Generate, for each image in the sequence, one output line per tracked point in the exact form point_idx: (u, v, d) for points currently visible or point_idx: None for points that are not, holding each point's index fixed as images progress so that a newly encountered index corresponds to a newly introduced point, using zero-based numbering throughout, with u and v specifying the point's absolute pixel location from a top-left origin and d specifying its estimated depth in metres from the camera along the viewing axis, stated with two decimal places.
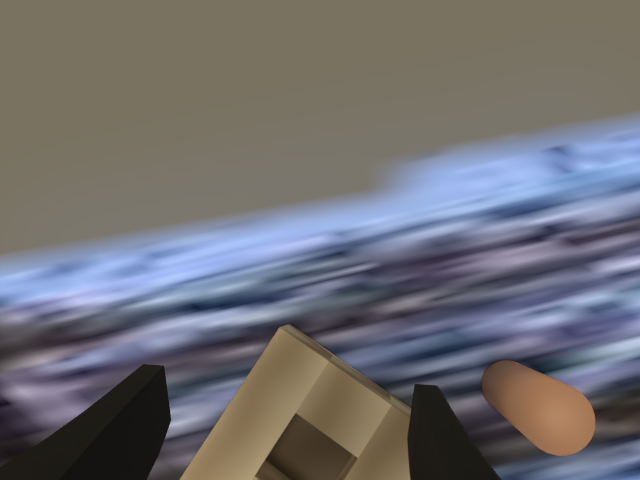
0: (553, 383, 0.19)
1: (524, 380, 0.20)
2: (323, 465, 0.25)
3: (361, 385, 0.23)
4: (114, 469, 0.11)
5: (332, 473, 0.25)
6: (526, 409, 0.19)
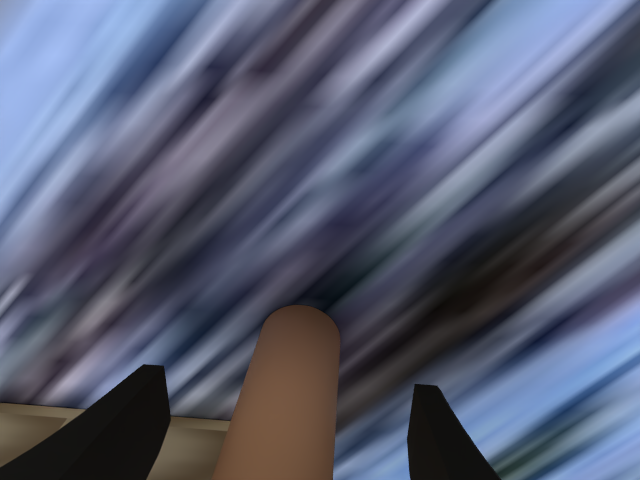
0: None
1: (224, 443, 0.11)
2: None
3: None
4: (114, 469, 0.11)
5: None
6: None
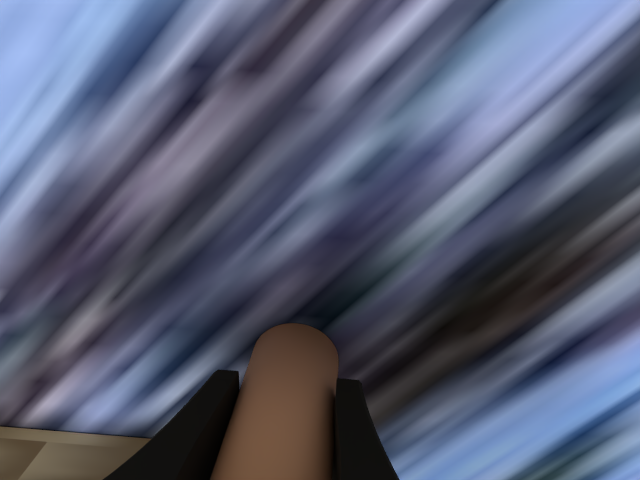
0: None
1: None
2: None
3: None
4: (204, 477, 0.11)
5: None
6: None
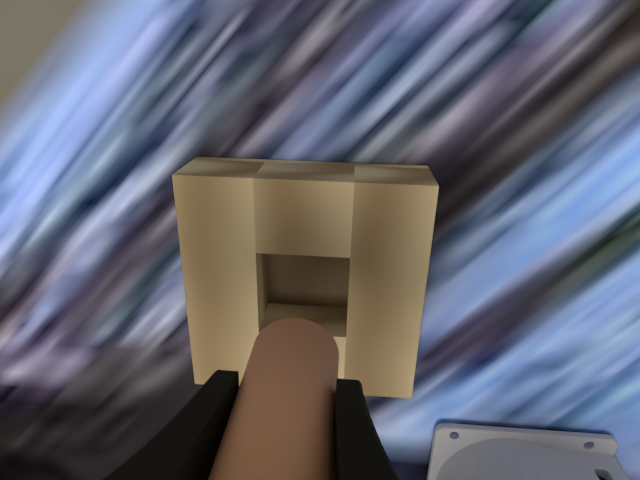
0: None
1: (210, 477, 0.10)
2: (328, 275, 0.21)
3: (306, 181, 0.17)
4: (204, 477, 0.11)
5: (341, 278, 0.21)
6: None
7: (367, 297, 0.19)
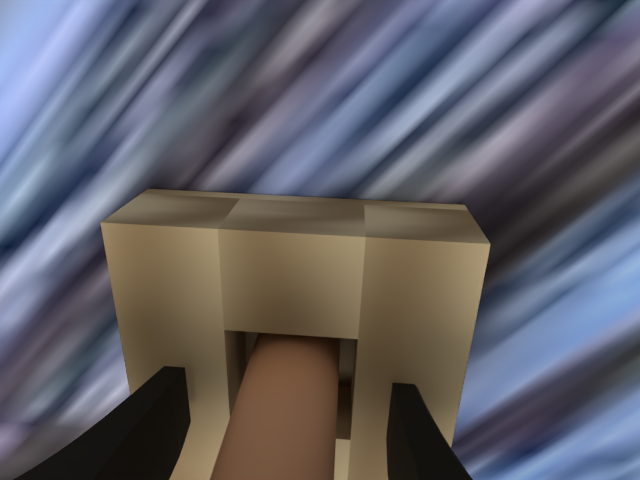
0: None
1: (224, 439, 0.11)
2: None
3: (296, 235, 0.12)
4: (139, 471, 0.11)
5: (344, 350, 0.16)
6: None
7: (381, 390, 0.13)
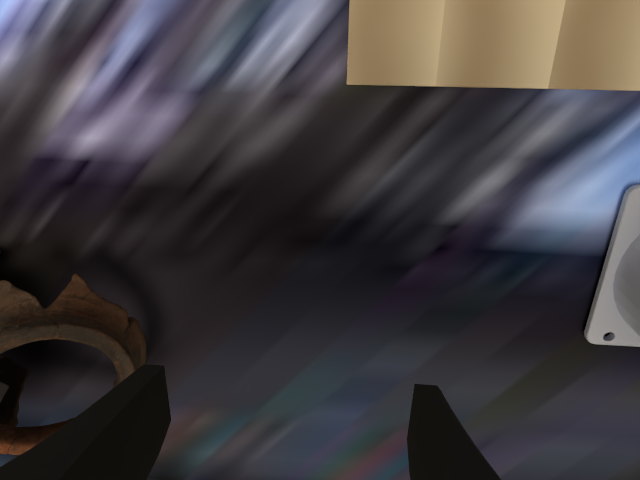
0: None
1: None
2: None
3: None
4: (114, 469, 0.11)
5: None
6: None
7: None
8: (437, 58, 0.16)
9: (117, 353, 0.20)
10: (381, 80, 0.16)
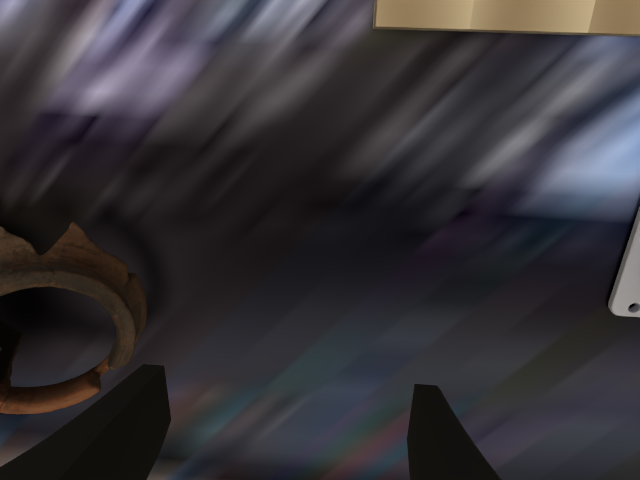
0: None
1: None
2: None
3: None
4: (114, 469, 0.11)
5: None
6: None
7: None
8: None
9: (116, 306, 0.19)
10: (412, 22, 0.15)
